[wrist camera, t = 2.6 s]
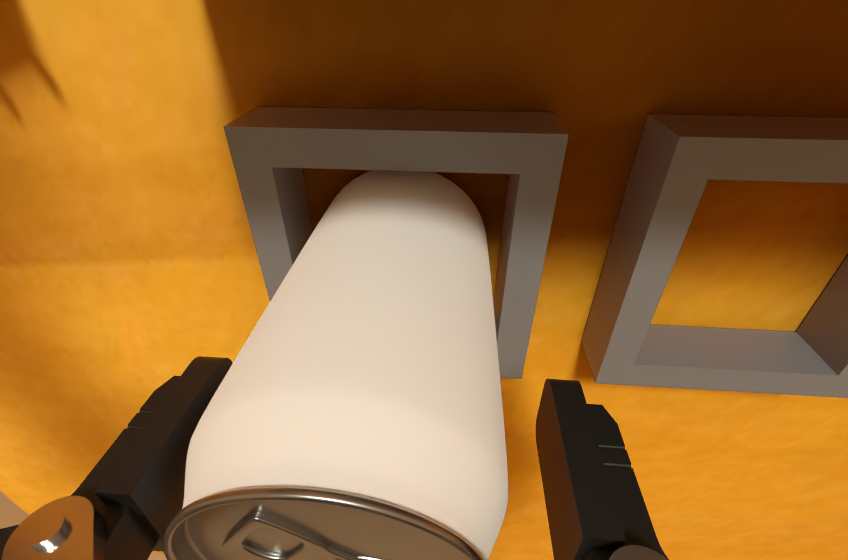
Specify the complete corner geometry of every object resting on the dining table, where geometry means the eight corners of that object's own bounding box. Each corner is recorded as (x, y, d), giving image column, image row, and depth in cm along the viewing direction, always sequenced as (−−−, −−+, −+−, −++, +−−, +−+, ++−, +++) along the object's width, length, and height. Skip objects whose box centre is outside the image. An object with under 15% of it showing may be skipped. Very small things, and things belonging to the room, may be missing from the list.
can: (423, 324, 20) (382, 664, 10) (299, 249, 18) (95, 576, 8) (521, 228, 16) (608, 591, 7) (382, 123, 14) (213, 411, 5)
